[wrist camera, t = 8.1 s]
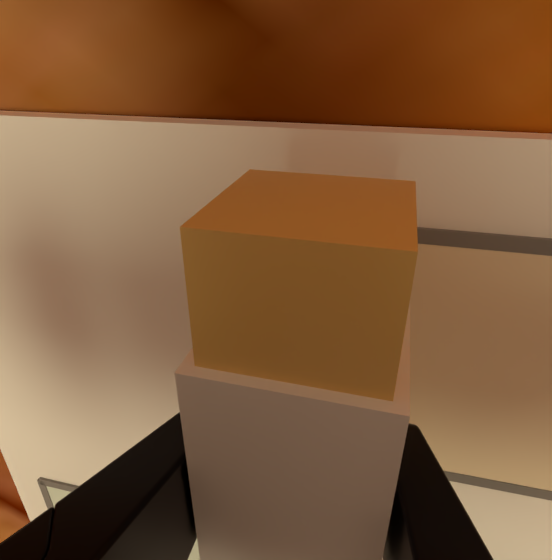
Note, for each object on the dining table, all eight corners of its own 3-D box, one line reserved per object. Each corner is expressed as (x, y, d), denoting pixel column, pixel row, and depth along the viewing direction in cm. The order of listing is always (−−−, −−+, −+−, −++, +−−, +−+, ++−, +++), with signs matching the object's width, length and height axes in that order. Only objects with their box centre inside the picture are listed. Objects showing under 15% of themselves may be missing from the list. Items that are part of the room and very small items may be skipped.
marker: (369, 536, 11) (357, 685, 9) (253, 507, 12) (210, 638, 9) (428, 178, 7) (440, 263, 4) (241, 165, 8) (154, 231, 5)
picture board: (492, 695, 17) (496, 719, 16) (67, 575, 20) (57, 591, 20) (784, 143, 7) (819, 153, 7) (-116, 105, 11) (-145, 109, 10)
